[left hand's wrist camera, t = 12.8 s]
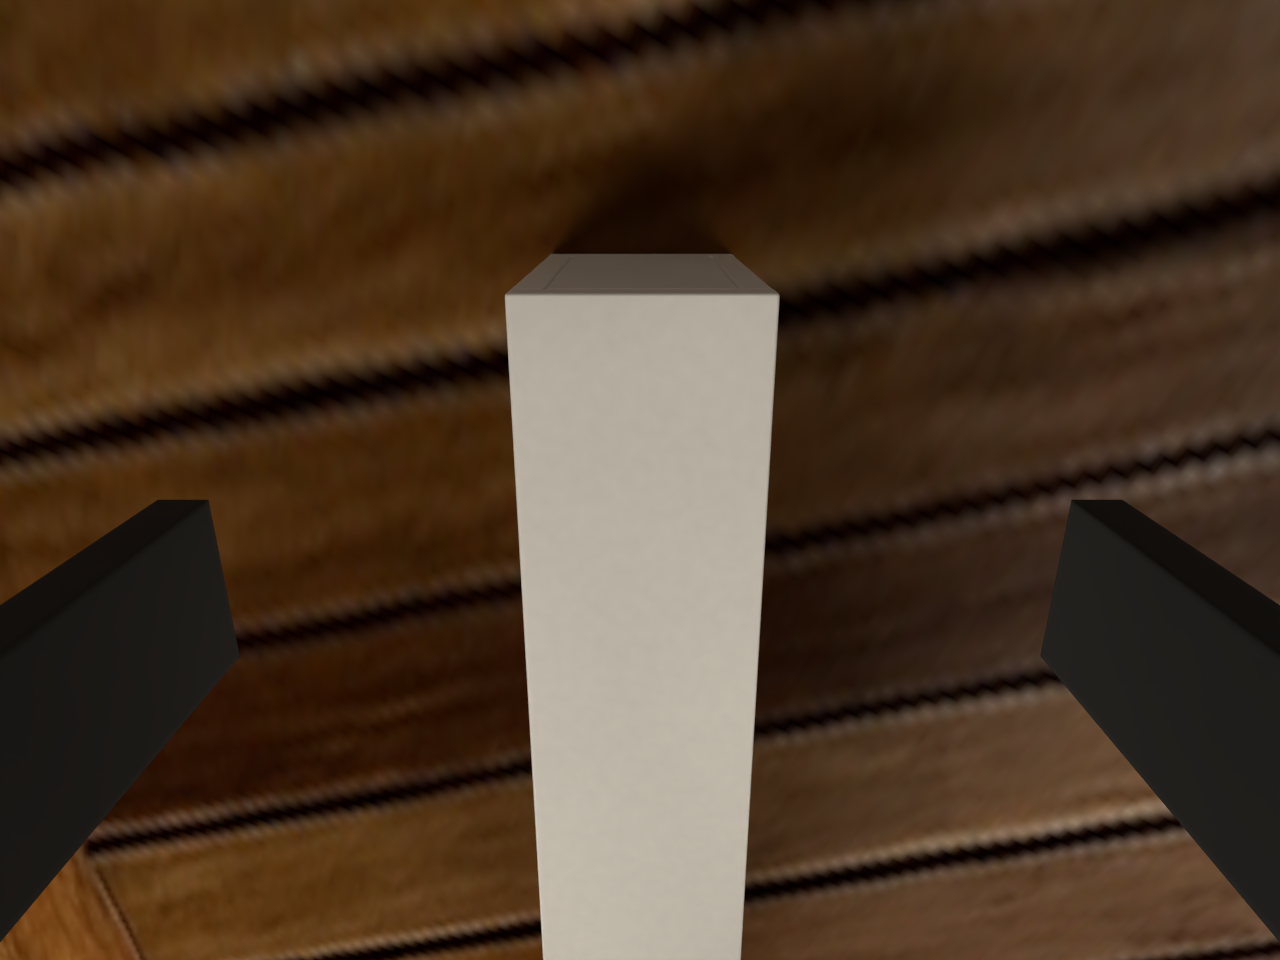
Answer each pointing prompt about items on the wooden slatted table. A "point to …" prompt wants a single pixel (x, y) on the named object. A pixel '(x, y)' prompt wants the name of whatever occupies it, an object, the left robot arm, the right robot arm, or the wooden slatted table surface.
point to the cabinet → (642, 590)
